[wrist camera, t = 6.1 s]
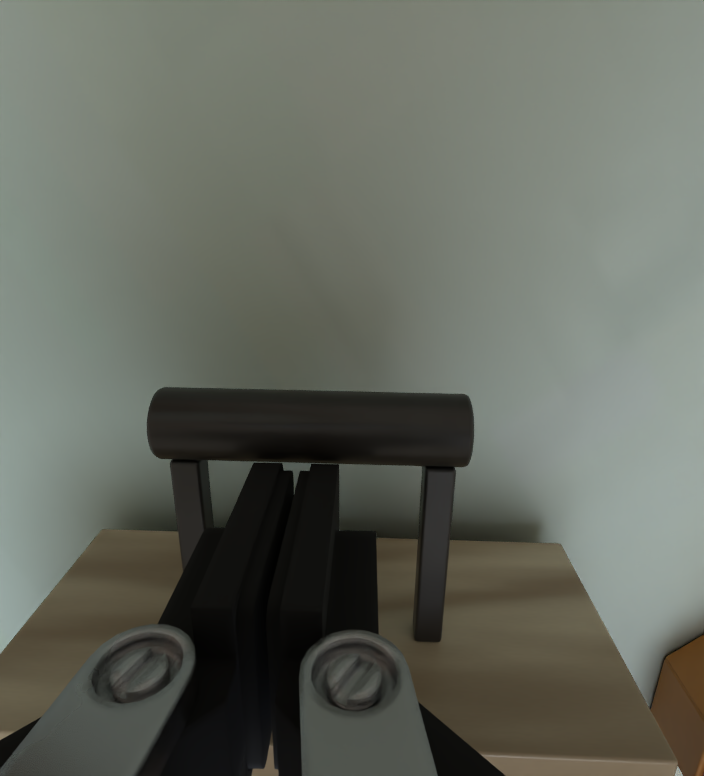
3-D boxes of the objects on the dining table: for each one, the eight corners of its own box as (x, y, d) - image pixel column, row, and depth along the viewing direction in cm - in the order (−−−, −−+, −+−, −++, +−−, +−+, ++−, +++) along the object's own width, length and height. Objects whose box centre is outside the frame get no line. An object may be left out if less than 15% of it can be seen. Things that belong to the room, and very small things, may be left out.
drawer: (68, 338, 14) (-165, 447, 8) (594, 349, 13) (772, 473, 7) (155, 828, 20) (65, 1090, 14) (508, 846, 20) (566, 1123, 14)
